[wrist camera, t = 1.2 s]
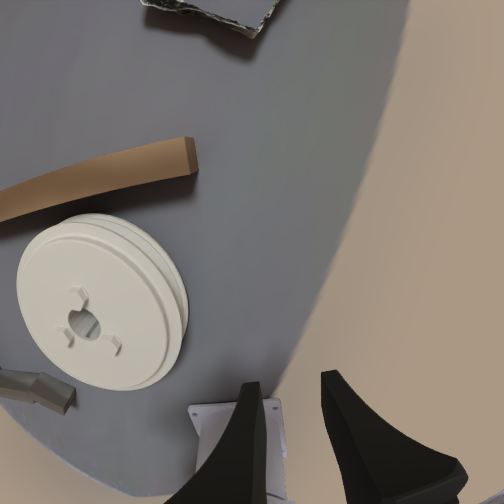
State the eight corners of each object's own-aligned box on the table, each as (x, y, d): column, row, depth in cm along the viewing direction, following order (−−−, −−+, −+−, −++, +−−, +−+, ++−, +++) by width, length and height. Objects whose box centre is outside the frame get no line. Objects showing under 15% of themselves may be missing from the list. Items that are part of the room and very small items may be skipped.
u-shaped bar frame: (243, 394, 24) (243, 420, 21) (6, 386, 25) (-6, 401, 22) (193, 138, 18) (184, 136, 15) (-61, 222, 19) (-80, 230, 16)
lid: (193, 370, 24) (184, 415, 19) (58, 350, 23) (33, 384, 18) (190, 212, 20) (173, 234, 15) (32, 209, 19) (-10, 227, 14)
